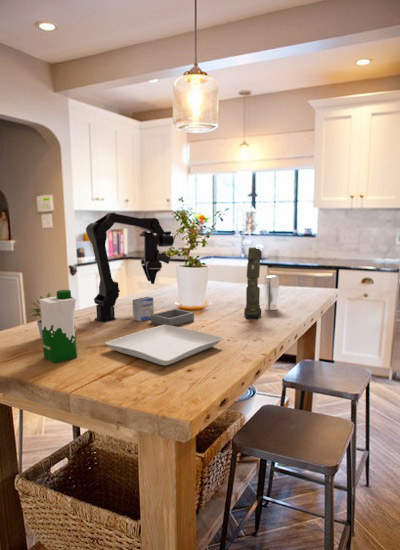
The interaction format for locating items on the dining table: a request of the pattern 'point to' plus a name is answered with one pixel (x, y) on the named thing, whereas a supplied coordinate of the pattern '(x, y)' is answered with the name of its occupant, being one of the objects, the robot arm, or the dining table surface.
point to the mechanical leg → (253, 284)
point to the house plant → (39, 314)
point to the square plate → (164, 343)
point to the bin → (172, 317)
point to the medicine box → (143, 308)
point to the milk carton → (58, 327)
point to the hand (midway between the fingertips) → (150, 282)
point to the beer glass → (271, 291)
